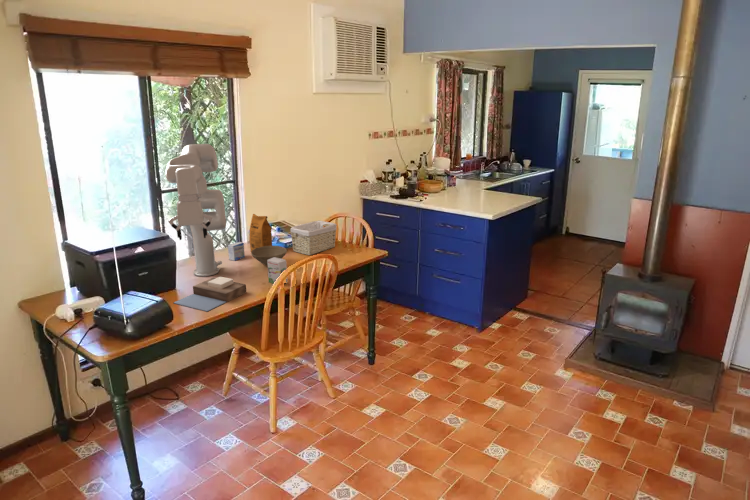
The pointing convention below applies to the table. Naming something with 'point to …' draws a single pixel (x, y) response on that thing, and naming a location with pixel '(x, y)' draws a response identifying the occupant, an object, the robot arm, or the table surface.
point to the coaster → (220, 282)
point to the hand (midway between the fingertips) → (192, 238)
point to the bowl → (268, 253)
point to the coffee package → (260, 232)
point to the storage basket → (313, 237)
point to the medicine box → (236, 251)
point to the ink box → (275, 268)
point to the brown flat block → (219, 291)
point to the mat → (200, 302)
